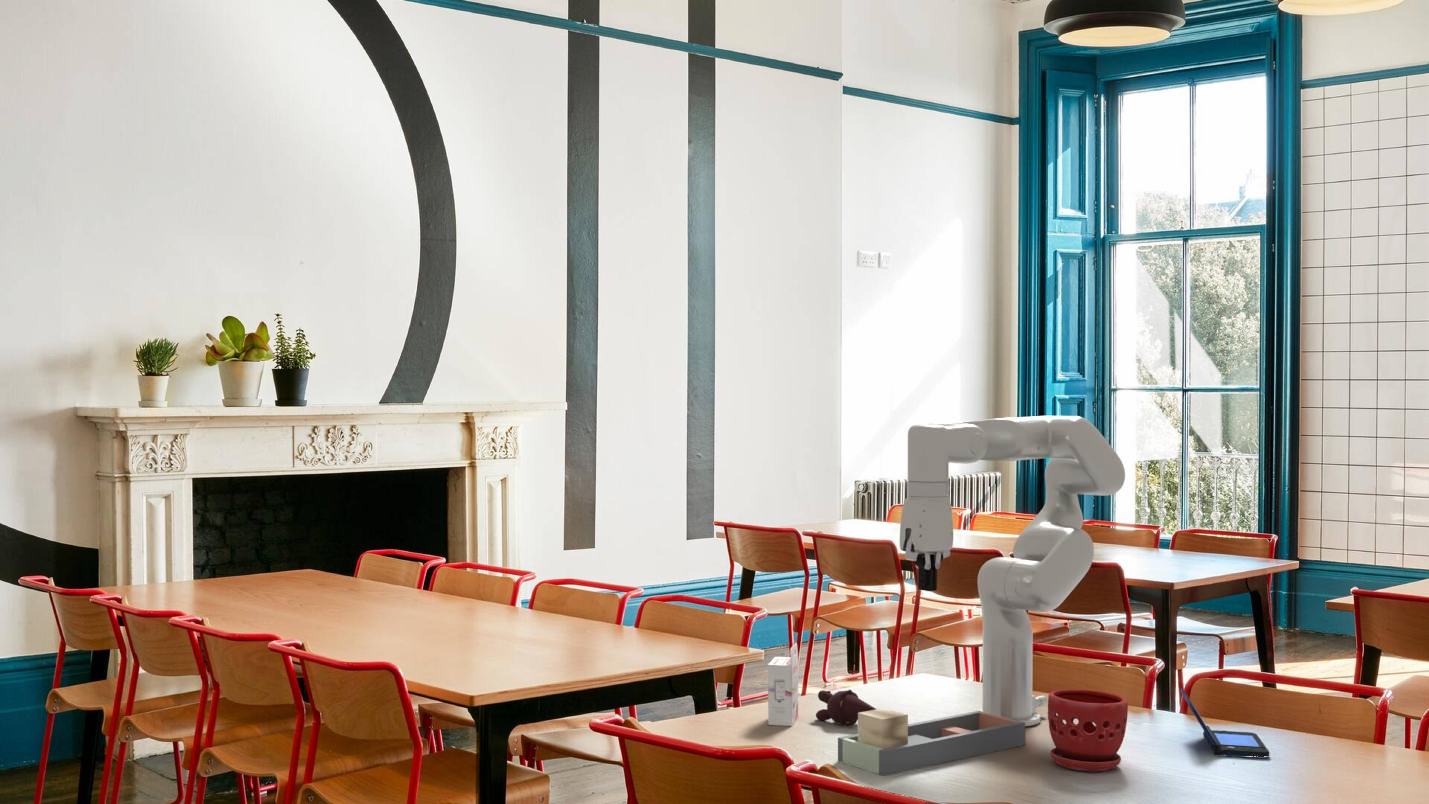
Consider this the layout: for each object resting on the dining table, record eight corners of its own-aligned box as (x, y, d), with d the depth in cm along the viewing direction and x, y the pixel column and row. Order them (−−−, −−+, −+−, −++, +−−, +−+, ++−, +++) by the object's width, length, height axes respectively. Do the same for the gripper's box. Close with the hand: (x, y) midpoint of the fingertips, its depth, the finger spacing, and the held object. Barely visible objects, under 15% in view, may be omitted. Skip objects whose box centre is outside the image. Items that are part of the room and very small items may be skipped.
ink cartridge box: (773, 715, 263) (774, 640, 263) (798, 716, 262) (799, 641, 262) (766, 725, 254) (767, 648, 254) (792, 726, 253) (792, 649, 253)
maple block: (883, 742, 231) (883, 708, 231) (907, 749, 227) (907, 714, 227) (857, 747, 228) (857, 712, 228) (882, 755, 223) (882, 719, 223)
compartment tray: (977, 732, 250) (977, 710, 250) (1025, 744, 240) (1025, 722, 240) (837, 760, 229) (837, 737, 229) (883, 775, 220) (884, 751, 220)
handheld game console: (1270, 761, 231) (1270, 707, 231) (1189, 756, 234) (1189, 703, 234) (1255, 739, 246) (1255, 689, 246) (1179, 735, 249) (1179, 685, 249)
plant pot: (1115, 779, 218) (1115, 706, 218) (1037, 768, 225) (1037, 697, 225) (1136, 762, 229) (1136, 692, 229) (1061, 751, 236) (1061, 683, 236)
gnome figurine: (891, 694, 253) (831, 689, 264) (867, 689, 248) (807, 684, 259) (888, 731, 251) (828, 725, 262) (863, 727, 246) (803, 721, 257)
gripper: (941, 488, 254) (941, 585, 254) (884, 491, 245) (884, 591, 245) (970, 490, 248) (970, 589, 248) (913, 493, 239) (913, 595, 239)
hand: (927, 589), depth 246 cm, fingers closed
